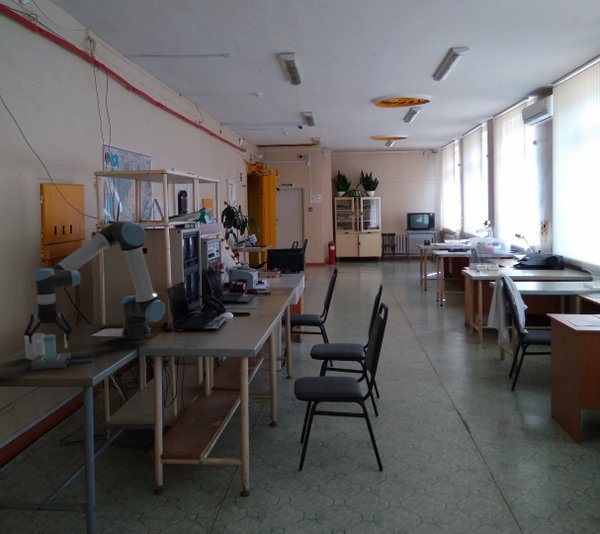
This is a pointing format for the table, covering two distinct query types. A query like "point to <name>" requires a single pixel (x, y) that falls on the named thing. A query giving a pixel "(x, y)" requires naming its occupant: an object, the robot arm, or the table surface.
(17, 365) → the table surface
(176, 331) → the table surface
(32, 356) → the mug
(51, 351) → the plug
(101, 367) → the table surface
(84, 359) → the dark grey square tray
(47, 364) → the port
